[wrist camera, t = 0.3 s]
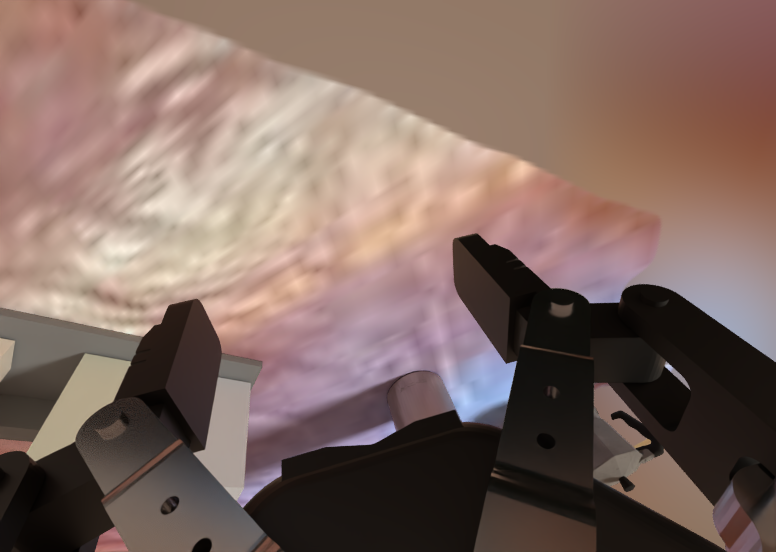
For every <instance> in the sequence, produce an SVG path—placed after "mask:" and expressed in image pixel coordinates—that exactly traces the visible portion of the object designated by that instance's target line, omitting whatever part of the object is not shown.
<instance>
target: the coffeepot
mask: <svg viewBox="0 0 776 552" xmlns="http://www.w3.org/2000/svg"><path fill="white" fill-rule="evenodd" d="M611 417H612V420H614V419H618V418H621V419H623V420H624V421H625V422H626V423H627V424H628V425H629V426H630V427H632V428H634V429H636V430H637V431H638V432H640V433H641V434H642V435H643V436H644V437H646V438H647V439H649V440H651V444H649V445H646V446H641V447H639V448H636V449H635V448H634V447H633V446H632V445H631V444H630V443H629V442H628V441H626V440H625V439H624V438H623V437H622V436H621V435H620V434H619V433H618V432H617V431H616V430H614V429H613V428H612V427H611V426H610V425H609V424H608V423H607V422H605V421H604V420H603V419H601V418H600V416H599V415H598V411H597V410H596V409H595V407H594V444H593V478H595V479H597V480H599V481H601V482H602V483H604V484H606V485H608V486H612V485H615V484H618V483H619V482H620V483H621V485H622V487H623V489H624V491H626V492H628V491H631V490H633V489H634V487H635V485H634V484H633V483H632V482H630V481H629V480H628V479H627V477H628V476H629V475H631V474H632V473H634V472H635V471H637V469H638V467H639V466H640V464H641V463H646V462H648V461H650V460H652V459H653V458H654V457H657V456H660V455H662V454H663V453H664V448H663V446H662V445H661V444H660V443H659V442H658V441H657V439H656V438H655V437H654V436H653V435H652V434H651V433H650V431H649V430H648V429H647V428H646V427H645V426H644V424H643V423H641V422H639V421H638V420H636V419H634V418H633V417H631V416H630V415H628V414H627V413H625V412H623V411H617V412H615V413H613V414H611Z"/></svg>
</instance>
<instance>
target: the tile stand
mask: <svg viewBox="0 0 776 552" xmlns="http://www.w3.org/2000/svg"><path fill="white" fill-rule="evenodd" d="M0 338H2V339H8V340H13V341H15V345H14V351H13V357H12V364H11V369H10V370H9V372H8V373H7V374H6V375H5V377H4V378H3V379H2V381H1V382H0V439H7V440H18V441H29V442H33V441H34V439H35V438H36V436H37V434H38V433H39V431H40V429H41V427H42V426H43V424H44V422H45V421H46V419H47V417H48V416H49V414H50V412H51V410H52V409H53V407H54V405H55V404H56V402H57V400H58V399H59V397H60V395H61V393H62V392H63V390H64V388H65V387H66V385H67V383H68V382H69V380H70V378H71V376H72V375H73V373H74V371H75V370H76V368H77V366H78V365H79V363H80V361H81V359H82V358H83V356H84V354H85V353H86V354H92V355H97V356H103V357H108V358H114V359H119V360H125V361H132V359H133V357H134V355H136V353H135V352H136V350H137V348H138V346H139V343H140V341H141V339H142V338H143V337H140V336H135V335H130V334H125V333H120V332H115V331H111V330H106V329H101V328H96V327H91V326H86V325H81V324H77V323H72V322H67V321H62V320H57V319H52V318H47V317H42V316H38V315H33V314H28V313H23V312H18V311H13V310H8V309H3V308H0ZM261 369H262V361H257V360H252V359H247V358H242V357H237V356H232V355H227V354H223V353H222V357H221V363H220V369H219V375H218V377H220V378H226V379H231V380H237V381H242V382H248V383H251V389H252V387H253V385H254V383H255V381H256V379H257V377H258V375H259V373H260V371H261ZM250 391H251V390H250Z"/></svg>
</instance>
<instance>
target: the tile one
mask: <svg viewBox="0 0 776 552" xmlns="http://www.w3.org/2000/svg"><path fill="white" fill-rule="evenodd" d="M14 345H15V341H13V340H8V339H2V338H0V382H1V381H2V379H3V378H4V377H5V375H6V374H7V373H8V372H9V370H10V369H11V364H12V357H13V351H14Z"/></svg>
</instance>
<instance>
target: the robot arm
mask: <svg viewBox="0 0 776 552" xmlns="http://www.w3.org/2000/svg"><path fill="white" fill-rule="evenodd" d="M453 269H454V283H455V287H456V290H457V293H458V295H459V297H460V298H461V300H462V301H463V303H464V304H465V305H466V307H467V308H468V310H469V311H470V313H471V314H472V315H473V317H474V318H475V320H476V321H477V323H478V324H479V326H480V327H481V328H482V330H483V331H484V333H485V334H486V336H487V337H488V338H489V340H490V341H491V343H492V344H493V346H494V347H495V348H496V350H497V351H498V353H499V354H500V356H501V357H502V358H503V360H504V361H505V363H506V364H507V363H510V362H514V361H517V363H516V368H515V373H514V377H513V382H512V386H511V391H510V396H509V400H508V405H507V410H506V414H505V419H504V424H503V428H502V429H501V428H499V427H495V426H492V425H488V424H483V423H475V422H462V421H461V419H460V416H459V414H458V412H457V410H456V408H455V406H454V404H453V402H452V399H451V397H450V395H449V393H448V391H447V389H446V387H445V385H444V383H443V381H442V379H441V378H440V376H438V375H437V374H435V373H433V372H428V371H420V372H414V373H411V374H408V375H406V376H404V377H402V378H401V379H399V380H398V381H397V382H396V383H394V384H393V386H392V387H391V388H390V390H389V392H388V396H387V401H388V405H389V408H390V412H391V415H392V418H393V422H394V425H395V429H396V432H395V433H393V434H391V435H389V436H388V437H386V438H384V439H382V440H381V441H379V442H377V443H375V444H371V445H357V446H338V447H325V448H321V449H318V450H315V451H311V452H308V453H304V454H301V455H297V456H294V457H291V458H287V459H284V460H282V476H280V477H279V478H277V479H275V480H274V481H272V482H271V483H269V484H268V485H267V486H265V487H264V488H263V489H262V490H260V491H259V492H258V493H257V494H256V495H255V496H254V497H253V498H252V499H251V500H250V501H249V502H248V503H247V504H246V505H245V506H244V508H242V507H241V506H240V505H239V504H238V502H237V501H236V500H235V499H234V498H233V497H232V496H231V495H230V494H229V493H228V491H227V490H226V489H225V488H224V487H223V486H222V485H221V484H220V483H219V481H218V480H217V479H216V478H215V477H214V476H213V475H212V474H211V473H210V471H209V470H208V469H207V468H206V467H205V466H204V465H203V464H202V463H201V461H200V460H199V459H198V458H197V457H196V456H195V455H194V454H193V453H195V452H198V451H202V450H205V447H206V442H207V436H208V431H209V425H210V419H211V414H212V408H213V403H214V397H215V391H216V386H217V380H218V375H219V369H220V363H221V357H222V351H221V345H220V341H219V338H218V336H217V334H216V332H215V330H214V328H213V326H212V324H211V322H210V320H209V318H208V316H207V313H206V311H205V309H204V307H203V305H202V304H201V302H200V301H199V300H198V299H193V300H189V301H184V302H180V303H176V304H171V305H169V306H168V308H167V311H166V313H165V315H164V318H163V320H162V323H161V324H159V325H155V326H153V328H152V329H151V330H150V331H149V332H148V333H147V334H146V335H145V336H144V337H143V338H142V339H141V341H140V343H139V346H138V348H137V350H136V352H135V353H136V355H134V357H133V359H132V361H131V363H130V364H131V366H129V368H128V370H127V372H126V374H125V376H124V379H123V381H122V383H121V385H120V387H119V390H118V392H117V394H116V396H115V398H114V401H113V402H112V403H110V404H107V405H106V406H104V407H102V408H101V409H99V410H98V411H96V412H95V413H94V414H93V415H91V416H90V417H89V418H88V419H87V420H86V421H85V422H84V424H83V425H82V426H81V428H80V429H79V431H78V433H77V435H76V439H75V442H73V443H71V444H70V445H68V446H66V447H64V448H62V449H59V450H57V451H55V452H53V453H51V454H49V455H47V456H45V457H43V458H41V459H39V460H37V461H34V460H33V459H32V458H31V457H30V456H29V455H27V454H26V453H25V452H22V451H13V452H8V453H4V454H2V455H0V552H95V549H96V545H97V542H98V539H99V536H100V535H101V534H103V533H104V532H106V531H108V530H110V529H111V528H113V527H116V529H117V531H118V533H119V534H120V536H121V538H122V540H123V542H124V543H125V545H126V547H127V549H128V550H129V552H776V362H774V361H773V360H772V359H770V358H769V357H767V356H766V355H764V354H763V353H762V352H760V351H759V350H757V349H756V348H754V347H753V346H752V345H750V344H749V343H747V342H746V341H744V340H743V339H742V338H740V337H739V336H737V335H736V334H735V333H733V332H731V331H730V330H729V329H727V328H726V327H725V326H723V325H722V324H720V323H719V322H717V321H716V320H715V319H713V318H712V317H710V316H709V315H707V314H706V313H705V312H703V311H702V310H700V309H699V308H698V307H696V306H695V305H693V304H692V303H690V302H689V301H687V300H686V299H685V298H683V297H682V296H680V295H679V294H677V293H676V292H674V291H672V290H669V289H667V288H664V287H660V286H656V285H649V284H639V285H633V286H630V287H628V288H626V289H625V290H624V291H623V292H622V295H621V299H620V303H589V301H588V300H587V299H586V298H585V297H584V296H582V295H581V294H579V293H577V292H574V291H571V290H568V289H561V288H550V287H549V286H548V285H546V284H545V283H544V282H543V281H542V280H541V279H540V278H539V277H538V276H537V275H536V274H535V273H533V272H532V271H531V270H530V269H529V268H528V267H526V266H525V264H524V263H523V262H522V261H520V260H518V258H517V257H516V256H515V255H514V254H513V253H512V252H511V251H510V250H508V249H506V248H503V247H501V246H498V245H496V244H494V245H489V244H488V243H487V242H486V241H485V240H484V239H483V238H482V237H481V236H480V235H478V234H477V233H475V234H471V235H467V236H462V237H458V238H455V239H454V240H453ZM666 361H667V362H668V363H669V364H670V365H671V366H672V367H673V368H674V369H676V370H677V371H678V372H679V373H680V374H681V375H682V376H683V377H684V378H685V380H686V381H687V383H688V385H689V387H690V390H691V391H690V390H689V389H688V388H687V387H686V386H685V385H684V384H683V383H682V382H681V381H680V380H679V379H678V378H677V377H675V376H674V375H673V374H672V373H671V372H670V371H669V370H668V369H667V368H666V367H665V366H664V365H665V362H666ZM594 383H608V384H609V385H610V386H611V387H612V388H613V390H614V391H615V392H616V393H617V394H618V395H619V396H620V397H621V399H622V400H623V401H624V402H625V403H626V404H627V406H628V407H629V408H630V409H631V410H632V412H634V414H635V415H636V416H637V417H638V418H639V420H640V421H641V422H642V423H643V424H644V426H645V427H646V428H647V429H648V430H649V431H650V433H651V434H652V435H653V436H654V437H655V438H656V439H657V441H658V442H659V443H660V444H661V445H662V446H663V448H664V449H665V450H666V451H667V452H668V453H669V455H670V456H671V457H672V458H673V459H674V460H675V462H676V463H677V464H678V465H679V466H680V467H681V469H682V470H683V471H684V472H685V473H686V474H687V475H688V477H689V478H690V479H691V480H692V481H693V482H694V484H695V485H696V486H697V487H698V488H699V489H700V491H701V492H703V494H704V495H705V496H706V498H707V499H708V500H709V501H710V502H711V503H712V505H713V506H714V509H713V520H714V524H715V527H716V529H717V531H718V533H719V535H720V537H721V538H722V540H723V541H724V543H725V548H726V550H724V549H722V548H721V547H719V546H717V545H716V544H714V543H712V542H710V541H708V540H707V539H705V538H703V537H701V536H699V535H697V534H696V533H694V532H692V531H690V530H688V529H686V528H685V527H683V526H681V525H679V524H677V523H676V522H674V521H672V520H670V519H668V518H666V517H665V516H663V515H661V514H659V513H657V512H655V511H654V510H651V509H650V508H648V507H646V506H644V505H642V504H641V503H639V502H637V501H635V500H633V499H632V498H629V497H628V496H626V495H624V494H622V493H621V492H619V491H617V490H615V489H613V488H611V487H610V486H608V485H606V484H604V483H602V482H601V481H599V480H597V479H595V478H593V444H594Z"/></svg>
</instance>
